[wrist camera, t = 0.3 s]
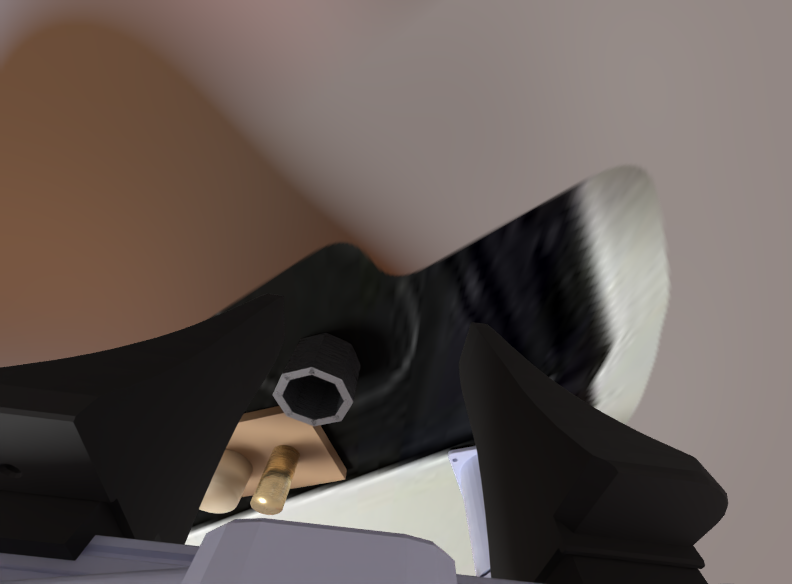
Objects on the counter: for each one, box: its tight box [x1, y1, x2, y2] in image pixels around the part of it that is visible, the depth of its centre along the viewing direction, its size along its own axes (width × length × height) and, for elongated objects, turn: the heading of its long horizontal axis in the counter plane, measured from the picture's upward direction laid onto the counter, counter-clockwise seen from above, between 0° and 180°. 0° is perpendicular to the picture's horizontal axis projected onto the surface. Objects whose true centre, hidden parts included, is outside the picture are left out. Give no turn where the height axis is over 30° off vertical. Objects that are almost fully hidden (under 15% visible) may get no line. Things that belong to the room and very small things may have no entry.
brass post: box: [250, 445, 300, 515], centre depth 27 cm, size 3×3×4 cm
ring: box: [273, 333, 361, 426], centre depth 23 cm, size 5×5×4 cm
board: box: [199, 406, 347, 513], centre depth 28 cm, size 10×13×4 cm
